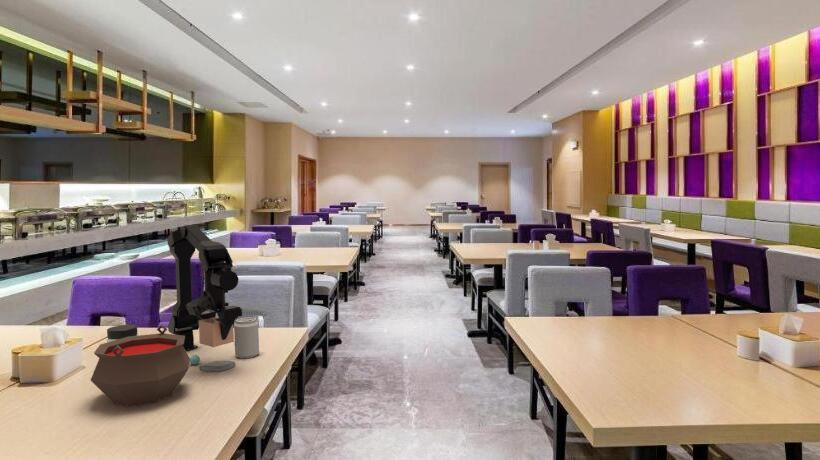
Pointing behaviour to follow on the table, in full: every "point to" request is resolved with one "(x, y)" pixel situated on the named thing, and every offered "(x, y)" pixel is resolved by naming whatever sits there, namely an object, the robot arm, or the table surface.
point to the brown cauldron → (141, 367)
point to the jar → (121, 332)
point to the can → (246, 337)
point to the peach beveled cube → (213, 333)
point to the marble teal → (194, 359)
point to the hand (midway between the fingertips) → (216, 337)
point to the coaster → (217, 366)
